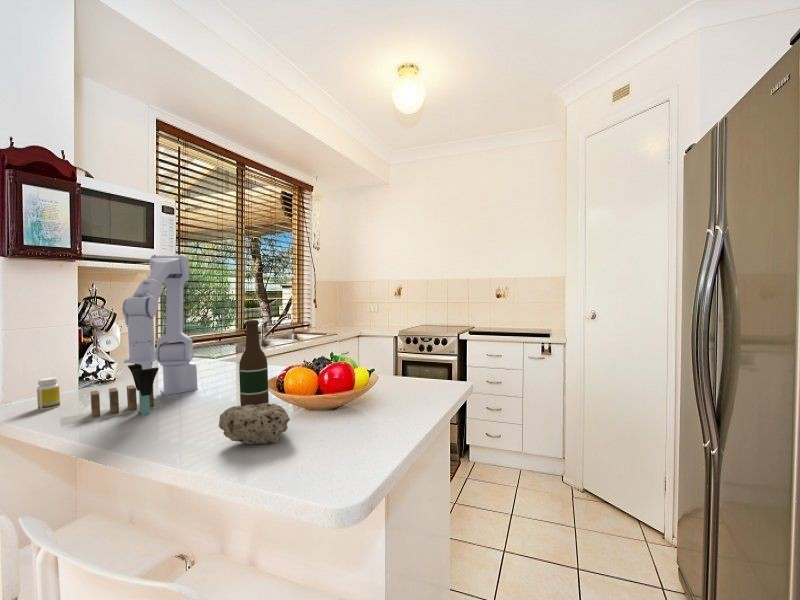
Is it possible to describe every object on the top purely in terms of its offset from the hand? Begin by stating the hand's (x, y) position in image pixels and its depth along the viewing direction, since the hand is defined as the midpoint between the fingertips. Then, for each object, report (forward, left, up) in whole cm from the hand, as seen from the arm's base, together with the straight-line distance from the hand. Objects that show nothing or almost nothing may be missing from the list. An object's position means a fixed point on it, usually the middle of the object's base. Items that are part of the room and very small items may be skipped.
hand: (143, 392), depth 105 cm
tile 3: (+6, -7, -5) cm, 11 cm away
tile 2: (+2, -7, -5) cm, 9 cm away
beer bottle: (-24, +16, -6) cm, 29 cm away
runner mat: (+6, -7, -6) cm, 11 cm away
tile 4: (+10, -7, -5) cm, 13 cm away
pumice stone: (-15, +40, -6) cm, 43 cm away
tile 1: (-2, -7, -5) cm, 9 cm away
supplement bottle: (+19, -26, -6) cm, 33 cm away
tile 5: (0, 0, -6) cm, 6 cm away
